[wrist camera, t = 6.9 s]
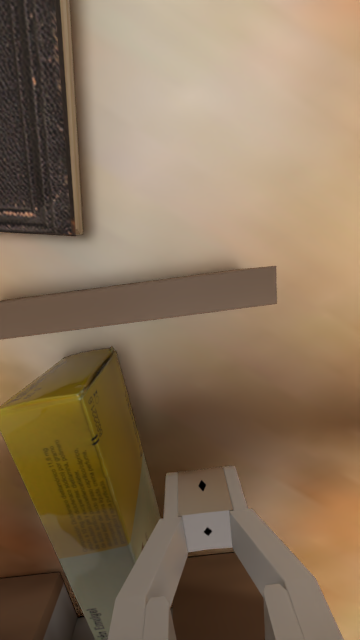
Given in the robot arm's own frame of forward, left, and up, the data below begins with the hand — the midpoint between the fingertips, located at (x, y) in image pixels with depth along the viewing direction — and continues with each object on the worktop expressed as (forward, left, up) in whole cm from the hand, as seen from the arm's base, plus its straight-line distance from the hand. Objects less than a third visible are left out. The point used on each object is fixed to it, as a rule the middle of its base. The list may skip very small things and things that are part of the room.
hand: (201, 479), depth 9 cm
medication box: (0, +4, -2) cm, 4 cm away
